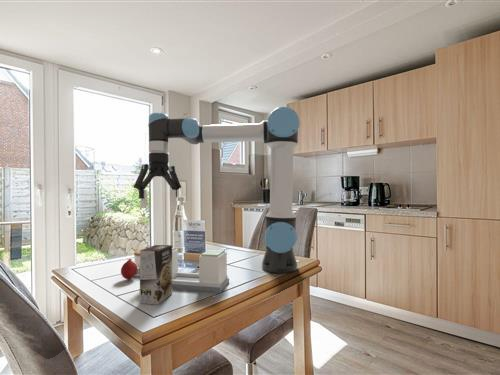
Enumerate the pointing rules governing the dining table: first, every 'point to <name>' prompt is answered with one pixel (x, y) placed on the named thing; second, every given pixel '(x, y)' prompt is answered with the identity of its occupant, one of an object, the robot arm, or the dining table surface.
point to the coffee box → (155, 274)
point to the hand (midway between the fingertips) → (159, 206)
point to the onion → (129, 269)
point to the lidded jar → (137, 257)
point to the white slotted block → (202, 272)
